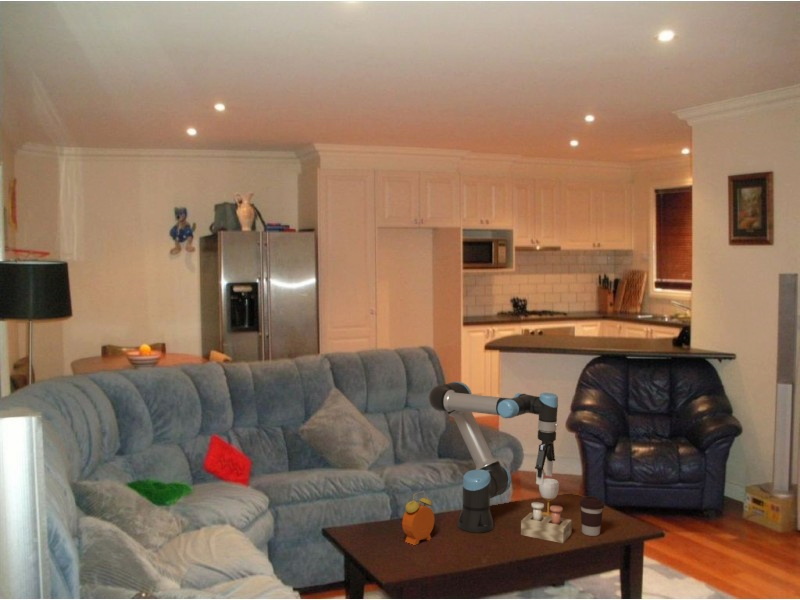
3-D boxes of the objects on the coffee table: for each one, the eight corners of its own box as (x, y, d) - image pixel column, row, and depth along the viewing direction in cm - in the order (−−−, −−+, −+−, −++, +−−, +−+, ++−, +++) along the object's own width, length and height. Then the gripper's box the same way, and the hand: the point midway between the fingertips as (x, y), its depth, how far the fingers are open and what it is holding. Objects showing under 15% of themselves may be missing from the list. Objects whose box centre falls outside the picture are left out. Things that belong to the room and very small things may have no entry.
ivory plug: (529, 523, 313) (529, 504, 313) (533, 520, 318) (533, 501, 317) (541, 526, 311) (541, 506, 310) (545, 522, 315) (545, 503, 315)
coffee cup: (603, 538, 309) (604, 503, 308) (579, 536, 311) (580, 501, 310) (602, 530, 318) (603, 495, 317) (578, 528, 320) (579, 493, 319)
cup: (560, 520, 330) (561, 484, 329) (539, 519, 330) (540, 483, 329) (556, 513, 339) (557, 478, 338) (536, 512, 339) (537, 477, 338)
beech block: (520, 534, 311) (521, 520, 311) (530, 525, 322) (530, 512, 322) (563, 543, 303) (563, 528, 303) (571, 533, 313) (571, 519, 313)
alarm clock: (423, 534, 310) (424, 487, 309) (434, 538, 305) (435, 490, 304) (401, 542, 301) (401, 494, 299) (411, 547, 296) (412, 497, 295)
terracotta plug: (547, 527, 309) (548, 508, 309) (551, 523, 314) (552, 504, 313) (560, 529, 307) (560, 510, 306) (563, 526, 311) (564, 506, 311)
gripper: (547, 438, 298) (544, 489, 300) (563, 425, 321) (560, 474, 322) (529, 435, 302) (526, 486, 303) (546, 423, 324) (544, 470, 326)
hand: (544, 480), depth 313 cm, fingers open, 13 cm apart
